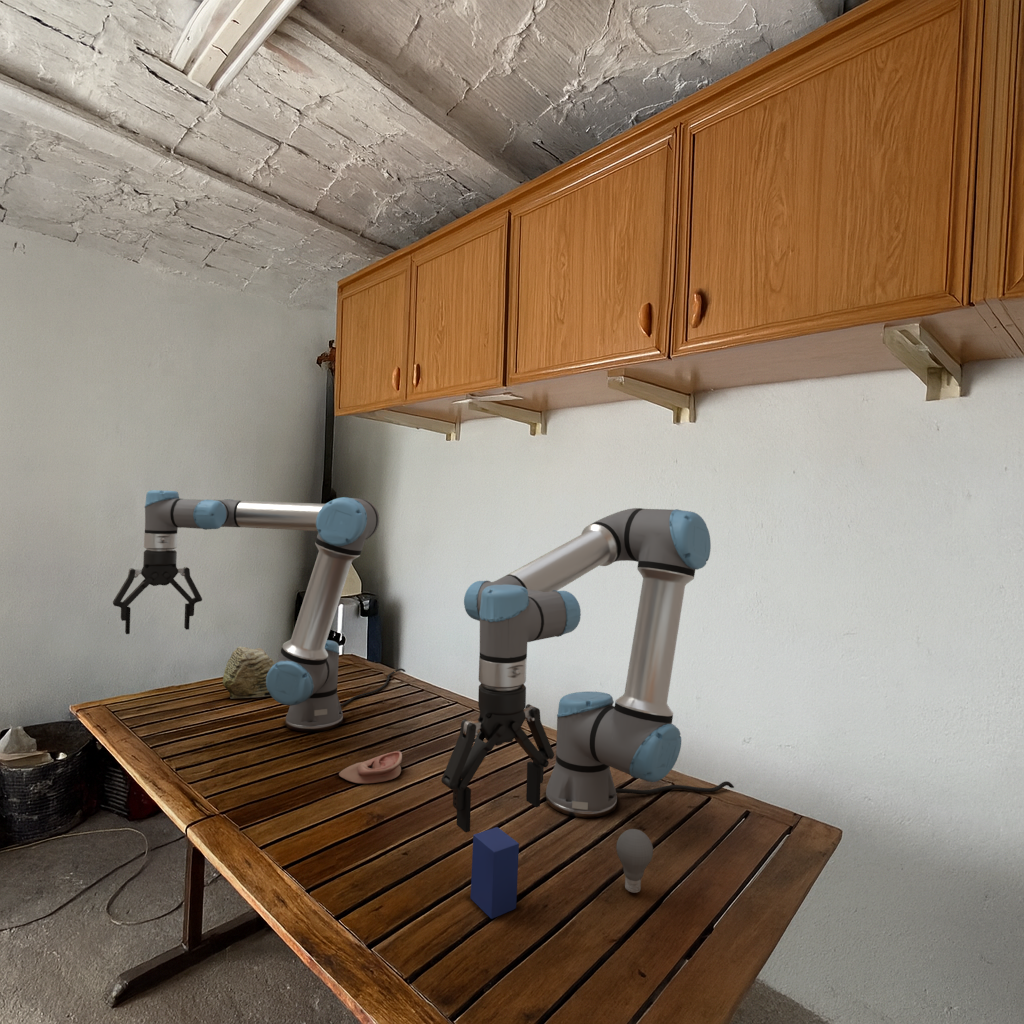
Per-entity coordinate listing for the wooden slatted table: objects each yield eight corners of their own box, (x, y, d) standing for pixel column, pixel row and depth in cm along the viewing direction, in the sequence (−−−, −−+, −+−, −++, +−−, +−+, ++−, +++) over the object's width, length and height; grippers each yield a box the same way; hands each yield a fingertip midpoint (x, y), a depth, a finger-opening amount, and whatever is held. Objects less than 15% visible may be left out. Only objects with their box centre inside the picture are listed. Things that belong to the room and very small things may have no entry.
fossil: (218, 695, 195) (220, 647, 195) (278, 685, 208) (279, 640, 207) (228, 703, 189) (230, 653, 188) (289, 692, 201) (290, 645, 201)
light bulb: (610, 879, 108) (613, 822, 108) (644, 879, 109) (647, 822, 109) (619, 902, 102) (622, 840, 102) (655, 901, 103) (658, 840, 103)
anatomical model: (332, 762, 141) (355, 743, 152) (332, 780, 141) (355, 759, 153) (388, 770, 139) (407, 750, 150) (388, 788, 139) (407, 766, 150)
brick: (491, 919, 97) (494, 852, 97) (470, 898, 102) (473, 834, 102) (516, 908, 100) (519, 843, 100) (494, 888, 105) (497, 826, 105)
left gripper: (104, 551, 154) (101, 638, 155) (215, 550, 169) (212, 629, 169) (102, 548, 160) (99, 632, 161) (209, 547, 175) (207, 624, 175)
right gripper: (446, 705, 90) (443, 851, 91) (577, 677, 105) (573, 803, 105) (420, 690, 96) (418, 828, 97) (548, 666, 111) (545, 785, 111)
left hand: (157, 630), depth 165 cm, fingers open, 13 cm apart
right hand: (499, 815), depth 101 cm, fingers open, 13 cm apart
